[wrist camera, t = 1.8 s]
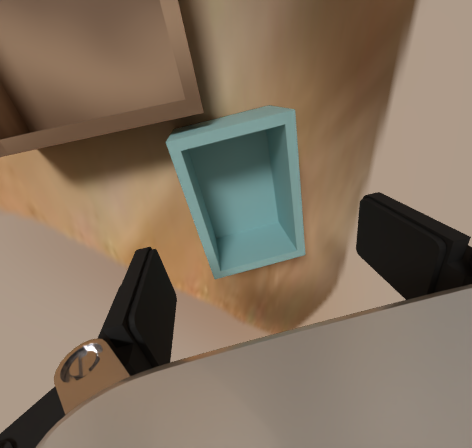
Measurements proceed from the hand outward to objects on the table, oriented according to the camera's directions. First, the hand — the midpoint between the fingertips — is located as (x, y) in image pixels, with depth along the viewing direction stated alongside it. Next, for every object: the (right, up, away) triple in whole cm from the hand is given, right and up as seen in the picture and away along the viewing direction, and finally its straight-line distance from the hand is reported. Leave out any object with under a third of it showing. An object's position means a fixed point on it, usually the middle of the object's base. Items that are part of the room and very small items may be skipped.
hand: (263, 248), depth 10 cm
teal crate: (-1, +5, +8) cm, 10 cm away
